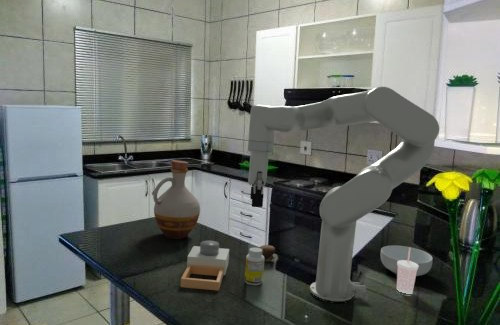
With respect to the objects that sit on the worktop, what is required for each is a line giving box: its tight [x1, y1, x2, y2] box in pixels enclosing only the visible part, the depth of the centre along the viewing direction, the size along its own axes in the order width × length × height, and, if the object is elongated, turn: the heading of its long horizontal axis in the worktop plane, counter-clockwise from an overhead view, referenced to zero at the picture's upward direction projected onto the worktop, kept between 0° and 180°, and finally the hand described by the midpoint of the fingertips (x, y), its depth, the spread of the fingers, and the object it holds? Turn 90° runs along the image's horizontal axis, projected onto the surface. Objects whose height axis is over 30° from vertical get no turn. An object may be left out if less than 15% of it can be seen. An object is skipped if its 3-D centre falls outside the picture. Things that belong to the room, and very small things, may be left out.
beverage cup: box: [396, 246, 419, 295], centre depth 123 cm, size 6×6×14 cm
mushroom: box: [258, 244, 276, 263], centre depth 140 cm, size 8×8×6 cm
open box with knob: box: [179, 240, 230, 292], centre depth 125 cm, size 12×21×8 cm, turn 177°
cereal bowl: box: [380, 245, 433, 277], centre depth 139 cm, size 17×17×7 cm
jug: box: [152, 159, 201, 240], centre depth 158 cm, size 20×18×30 cm
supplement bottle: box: [244, 247, 265, 286], centre depth 122 cm, size 6×6×10 cm
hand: (256, 203), depth 123 cm, fingers open, 9 cm apart
